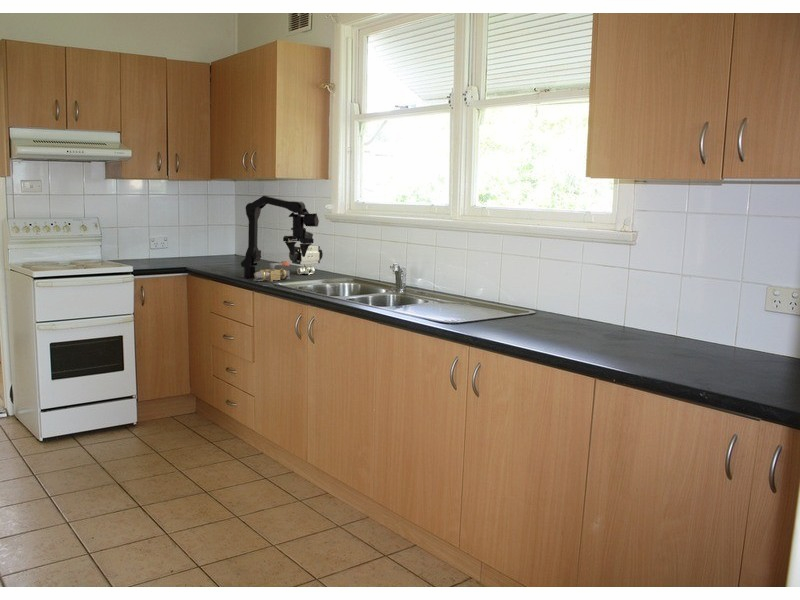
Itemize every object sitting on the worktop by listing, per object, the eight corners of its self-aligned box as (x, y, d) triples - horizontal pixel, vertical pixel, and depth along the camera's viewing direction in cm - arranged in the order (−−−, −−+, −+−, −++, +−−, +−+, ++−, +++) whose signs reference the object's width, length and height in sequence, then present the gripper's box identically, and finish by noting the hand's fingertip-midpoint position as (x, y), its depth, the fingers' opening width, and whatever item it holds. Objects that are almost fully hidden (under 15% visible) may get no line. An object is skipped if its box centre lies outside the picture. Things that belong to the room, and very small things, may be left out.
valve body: (259, 282, 368) (259, 270, 368) (252, 281, 373) (252, 269, 372) (291, 279, 383) (291, 268, 382) (284, 278, 387) (284, 267, 386)
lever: (272, 270, 374) (272, 262, 374) (267, 269, 378) (267, 262, 377) (291, 268, 382) (291, 261, 381) (286, 267, 385) (286, 260, 385)
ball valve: (297, 276, 395) (297, 244, 392) (288, 275, 401) (288, 243, 398) (324, 274, 406) (324, 243, 404) (315, 273, 413) (315, 242, 410)
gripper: (321, 226, 373) (321, 256, 376) (299, 224, 386) (299, 253, 389) (304, 227, 365) (304, 258, 368) (282, 225, 378) (282, 254, 381)
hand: (298, 256), depth 377 cm, fingers open, 9 cm apart
